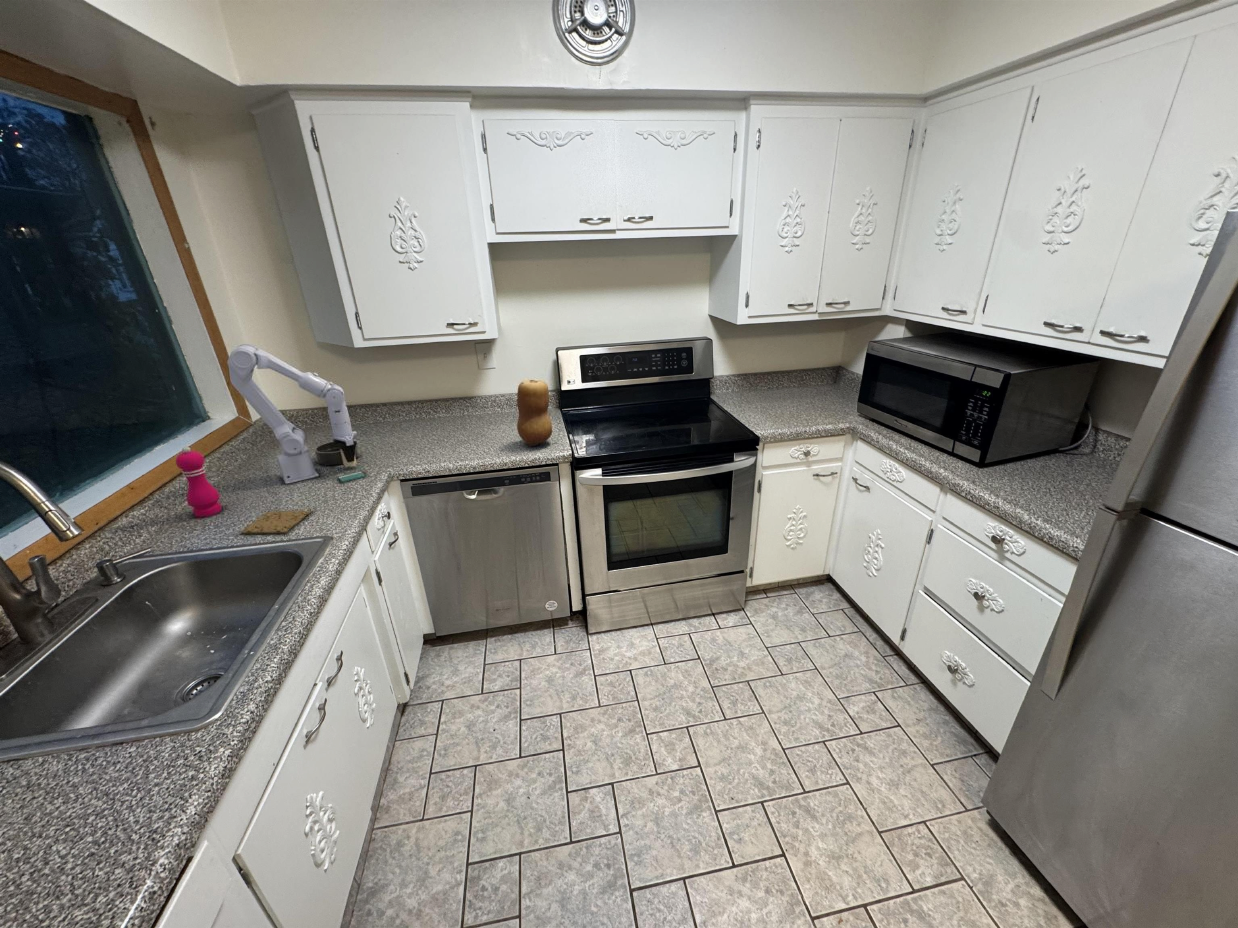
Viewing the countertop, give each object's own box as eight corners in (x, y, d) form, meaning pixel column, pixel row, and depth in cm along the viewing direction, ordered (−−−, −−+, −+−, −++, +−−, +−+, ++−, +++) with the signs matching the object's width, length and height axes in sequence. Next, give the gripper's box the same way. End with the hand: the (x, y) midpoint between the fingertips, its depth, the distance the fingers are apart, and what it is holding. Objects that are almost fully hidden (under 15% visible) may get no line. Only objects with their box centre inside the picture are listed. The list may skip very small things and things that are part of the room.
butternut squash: (556, 447, 192) (553, 382, 182) (521, 452, 187) (516, 386, 178) (547, 436, 204) (543, 375, 194) (514, 440, 199) (509, 378, 190)
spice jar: (345, 467, 171) (340, 448, 168) (342, 464, 174) (337, 444, 171) (358, 464, 173) (354, 445, 170) (355, 461, 176) (350, 442, 173)
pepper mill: (219, 504, 149) (197, 440, 142) (227, 511, 145) (205, 446, 138) (189, 513, 144) (165, 447, 137) (196, 520, 140) (171, 453, 132)
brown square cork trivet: (312, 512, 144) (311, 508, 143) (286, 533, 133) (285, 530, 132) (270, 512, 144) (269, 509, 143) (240, 533, 133) (239, 530, 132)
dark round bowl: (322, 469, 174) (319, 455, 172) (314, 458, 183) (310, 445, 181) (363, 459, 181) (360, 446, 180) (353, 450, 191) (350, 437, 189)
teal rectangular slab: (342, 482, 163) (341, 481, 163) (338, 478, 166) (337, 476, 166) (365, 477, 167) (364, 475, 167) (360, 472, 171) (360, 470, 170)
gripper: (359, 424, 165) (367, 462, 170) (347, 414, 175) (355, 451, 180) (335, 428, 161) (345, 468, 166) (325, 418, 171) (334, 456, 176)
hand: (349, 459), depth 173 cm, fingers closed on spice jar, 4 cm apart
